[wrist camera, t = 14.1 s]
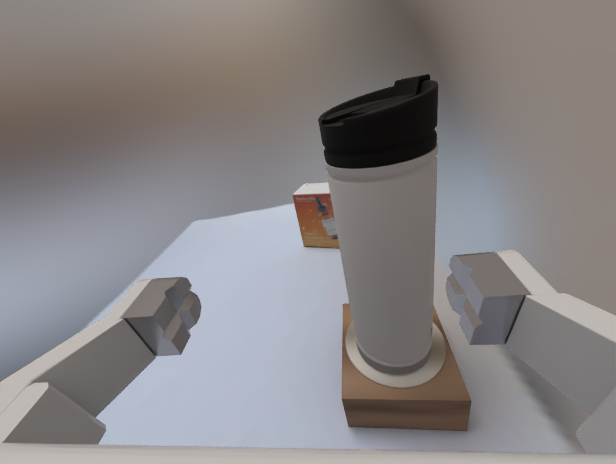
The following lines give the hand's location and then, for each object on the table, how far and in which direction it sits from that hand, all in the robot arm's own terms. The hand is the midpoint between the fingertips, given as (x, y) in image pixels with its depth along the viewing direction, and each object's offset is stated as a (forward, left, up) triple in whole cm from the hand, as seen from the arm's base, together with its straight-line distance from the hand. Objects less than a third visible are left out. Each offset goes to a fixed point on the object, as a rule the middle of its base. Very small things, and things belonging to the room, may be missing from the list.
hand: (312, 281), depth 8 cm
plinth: (+10, -3, -20) cm, 22 cm away
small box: (+36, +5, -20) cm, 41 cm away
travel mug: (+10, -3, -15) cm, 19 cm away
